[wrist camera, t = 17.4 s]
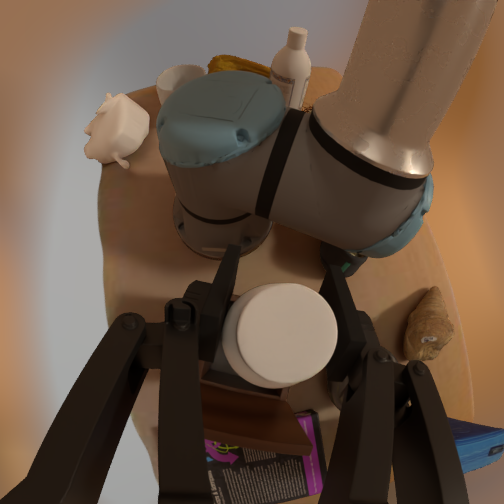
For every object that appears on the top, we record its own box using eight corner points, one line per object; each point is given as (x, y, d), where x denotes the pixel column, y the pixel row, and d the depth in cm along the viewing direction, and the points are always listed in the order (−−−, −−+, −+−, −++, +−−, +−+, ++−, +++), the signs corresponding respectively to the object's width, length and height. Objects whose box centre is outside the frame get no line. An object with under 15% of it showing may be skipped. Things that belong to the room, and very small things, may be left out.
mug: (162, 132, 47) (151, 94, 38) (167, 103, 50) (159, 67, 40) (228, 127, 48) (228, 87, 39) (227, 98, 51) (227, 60, 41)
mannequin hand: (117, 129, 51) (156, 99, 48) (119, 197, 47) (165, 165, 43) (76, 106, 40) (116, 68, 36) (67, 176, 35) (112, 134, 32)
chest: (221, 304, 38) (215, 289, 28) (286, 320, 38) (306, 311, 27) (204, 371, 35) (192, 383, 24) (271, 387, 35) (285, 404, 24)
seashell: (414, 301, 44) (397, 278, 41) (452, 288, 38) (440, 262, 36) (413, 371, 36) (396, 355, 33) (458, 361, 30) (448, 344, 27)
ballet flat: (370, 165, 48) (388, 139, 40) (358, 287, 40) (384, 274, 32) (330, 151, 48) (344, 122, 40) (308, 273, 40) (325, 257, 32)
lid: (162, 415, 14) (160, 426, 14) (314, 446, 14) (310, 456, 13) (192, 380, 24) (190, 387, 24) (287, 401, 24) (285, 408, 24)
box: (312, 407, 34) (176, 429, 32) (319, 412, 31) (172, 436, 29) (323, 481, 30) (198, 503, 27) (330, 490, 27) (195, 514, 24)
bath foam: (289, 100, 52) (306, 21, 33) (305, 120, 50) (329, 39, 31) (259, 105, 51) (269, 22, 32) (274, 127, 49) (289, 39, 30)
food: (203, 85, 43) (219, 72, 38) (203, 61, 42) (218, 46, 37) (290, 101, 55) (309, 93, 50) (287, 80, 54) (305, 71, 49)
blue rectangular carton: (432, 409, 34) (517, 423, 15) (424, 437, 32) (505, 461, 13) (366, 409, 34) (452, 442, 15) (357, 440, 32) (433, 488, 13)
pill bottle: (229, 379, 17) (225, 409, 9) (220, 305, 19) (209, 274, 11) (305, 368, 18) (359, 384, 9) (295, 296, 19) (339, 260, 11)
